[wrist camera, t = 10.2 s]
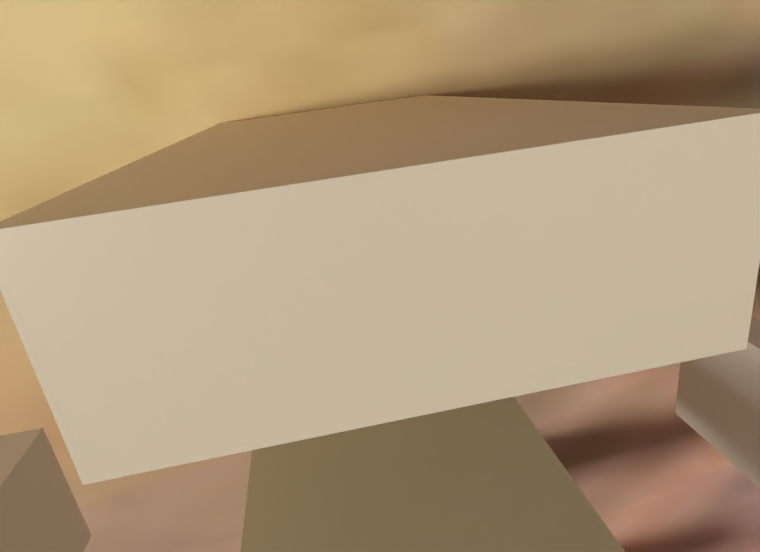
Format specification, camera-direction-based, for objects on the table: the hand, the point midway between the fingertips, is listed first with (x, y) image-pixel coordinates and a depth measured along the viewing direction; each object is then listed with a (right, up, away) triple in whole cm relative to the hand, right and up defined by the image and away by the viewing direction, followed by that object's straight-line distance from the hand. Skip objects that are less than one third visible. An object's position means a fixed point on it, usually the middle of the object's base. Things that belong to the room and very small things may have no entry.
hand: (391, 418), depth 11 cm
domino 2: (-2, +6, +2) cm, 7 cm away
